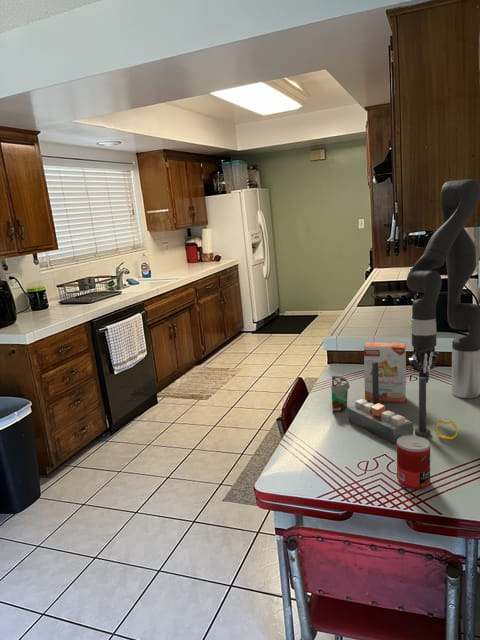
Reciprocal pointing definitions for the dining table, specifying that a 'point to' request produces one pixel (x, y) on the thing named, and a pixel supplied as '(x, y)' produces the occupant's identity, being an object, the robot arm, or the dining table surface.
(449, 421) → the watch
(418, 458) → the canned food
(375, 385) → the stand
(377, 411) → the breaker paddle
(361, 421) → the breaker strip
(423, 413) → the stand
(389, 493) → the dining table surface
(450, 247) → the robot arm
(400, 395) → the cracker box
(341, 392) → the food container
